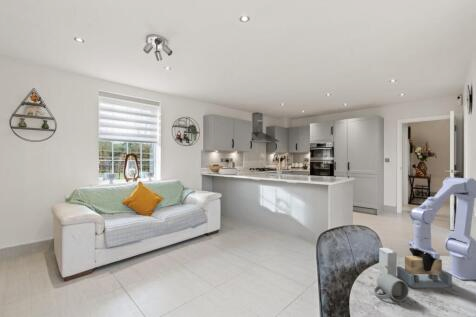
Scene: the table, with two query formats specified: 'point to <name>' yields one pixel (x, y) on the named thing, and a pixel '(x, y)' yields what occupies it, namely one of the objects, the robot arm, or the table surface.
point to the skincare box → (387, 261)
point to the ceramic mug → (391, 287)
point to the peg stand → (424, 279)
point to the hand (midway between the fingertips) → (423, 268)
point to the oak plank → (421, 265)
